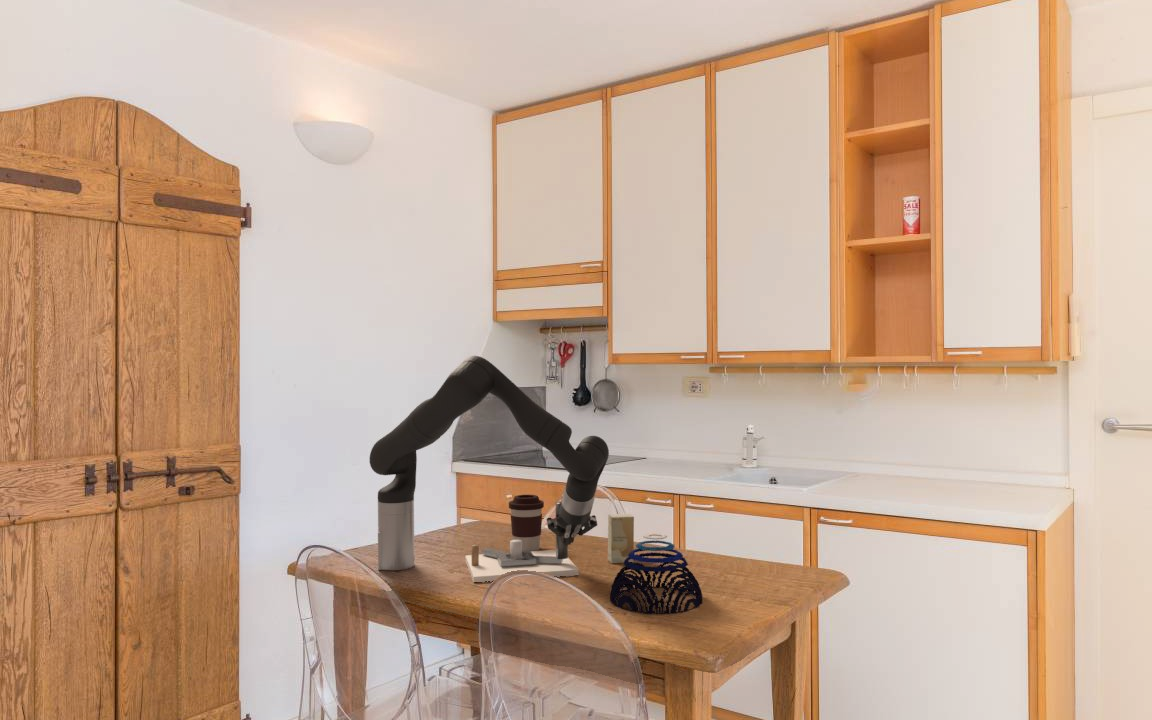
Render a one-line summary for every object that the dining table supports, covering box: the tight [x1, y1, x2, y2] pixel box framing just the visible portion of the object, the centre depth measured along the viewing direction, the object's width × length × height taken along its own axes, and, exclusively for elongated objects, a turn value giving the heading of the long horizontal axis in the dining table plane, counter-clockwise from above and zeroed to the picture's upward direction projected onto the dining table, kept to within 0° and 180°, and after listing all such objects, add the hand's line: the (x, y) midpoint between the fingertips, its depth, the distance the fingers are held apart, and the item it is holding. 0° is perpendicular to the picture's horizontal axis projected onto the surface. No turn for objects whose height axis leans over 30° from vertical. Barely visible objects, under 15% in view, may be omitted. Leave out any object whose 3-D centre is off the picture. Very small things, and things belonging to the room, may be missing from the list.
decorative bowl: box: [609, 532, 703, 615], centre depth 178 cm, size 20×20×14 cm
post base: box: [465, 539, 580, 583], centre depth 206 cm, size 26×22×7 cm
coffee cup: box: [508, 494, 545, 552], centre depth 227 cm, size 10×10×15 cm
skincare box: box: [607, 513, 635, 564], centre depth 212 cm, size 6×4×12 cm
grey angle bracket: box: [480, 501, 569, 566], centre depth 209 cm, size 20×17×15 cm
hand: (567, 541), depth 201 cm, fingers closed
